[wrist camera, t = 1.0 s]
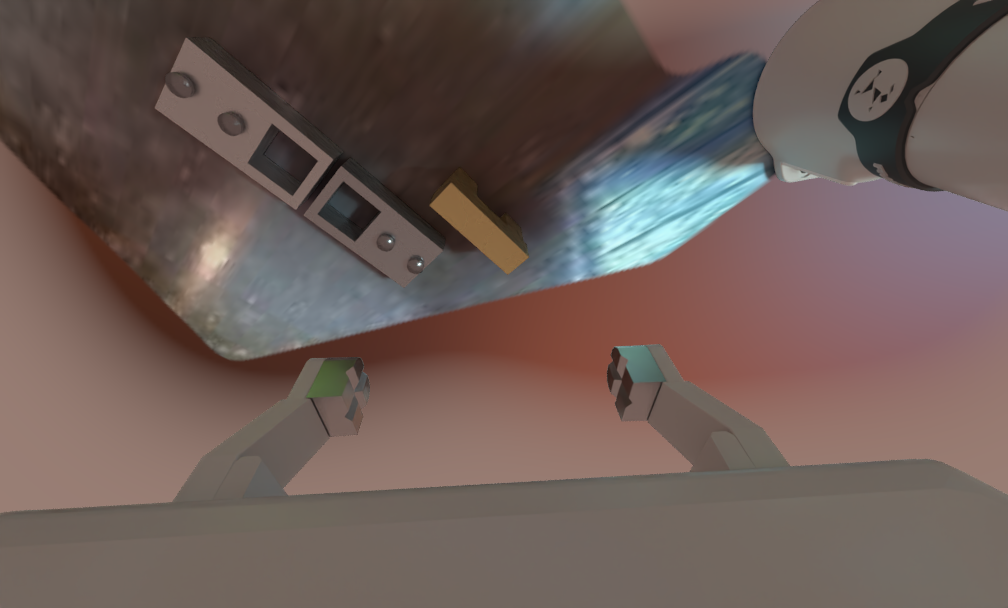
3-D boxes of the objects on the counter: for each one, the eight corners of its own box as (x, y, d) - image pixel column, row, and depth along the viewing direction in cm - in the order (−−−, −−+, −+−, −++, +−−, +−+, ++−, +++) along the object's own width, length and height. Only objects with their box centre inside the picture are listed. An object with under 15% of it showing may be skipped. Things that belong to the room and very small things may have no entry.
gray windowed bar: (178, 103, 33) (149, 109, 30) (209, 37, 30) (180, 37, 27) (408, 274, 45) (403, 290, 42) (445, 238, 42) (442, 253, 39)
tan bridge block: (436, 183, 38) (429, 205, 33) (455, 163, 37) (451, 182, 32) (505, 247, 43) (507, 274, 38) (523, 230, 42) (529, 257, 37)
